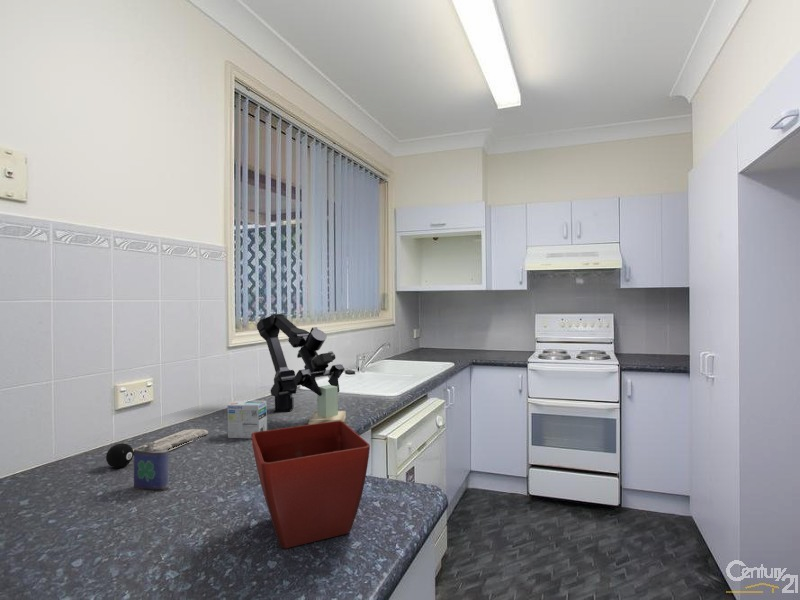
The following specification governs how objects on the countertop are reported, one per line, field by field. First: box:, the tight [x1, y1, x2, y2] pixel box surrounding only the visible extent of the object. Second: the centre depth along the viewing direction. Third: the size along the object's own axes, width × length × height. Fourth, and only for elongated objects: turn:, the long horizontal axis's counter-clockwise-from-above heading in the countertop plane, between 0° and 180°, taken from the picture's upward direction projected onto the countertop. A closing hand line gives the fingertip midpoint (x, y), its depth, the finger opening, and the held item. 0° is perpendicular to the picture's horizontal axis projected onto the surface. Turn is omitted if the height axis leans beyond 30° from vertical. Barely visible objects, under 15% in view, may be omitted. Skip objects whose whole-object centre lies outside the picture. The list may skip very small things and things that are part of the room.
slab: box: [308, 410, 347, 425], centre depth 156 cm, size 11×12×3 cm
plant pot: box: [251, 421, 371, 549], centre depth 85 cm, size 19×19×17 cm
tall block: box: [316, 384, 339, 418], centre depth 156 cm, size 5×5×10 cm
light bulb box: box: [226, 400, 268, 439], centre depth 144 cm, size 11×7×11 cm, turn 84°
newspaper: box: [132, 428, 209, 453], centre depth 138 cm, size 23×12×2 cm, turn 161°
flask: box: [133, 441, 170, 492], centre depth 104 cm, size 9×3×11 cm, turn 74°
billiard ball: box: [105, 443, 134, 469], centre depth 118 cm, size 6×6×6 cm
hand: (329, 393), depth 155 cm, fingers open, 7 cm apart
